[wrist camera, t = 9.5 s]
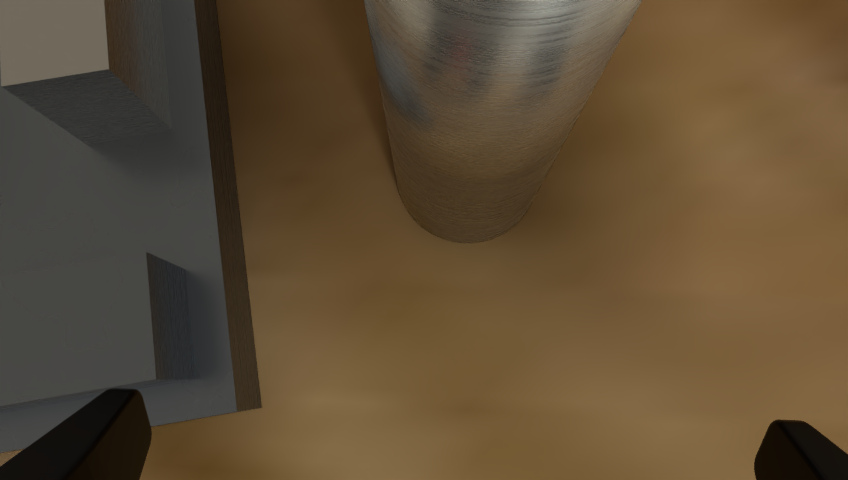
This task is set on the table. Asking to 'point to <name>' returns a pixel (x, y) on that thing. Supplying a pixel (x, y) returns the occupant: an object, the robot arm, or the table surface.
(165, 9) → the vise
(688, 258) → the table surface
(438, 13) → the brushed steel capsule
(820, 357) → the table surface
